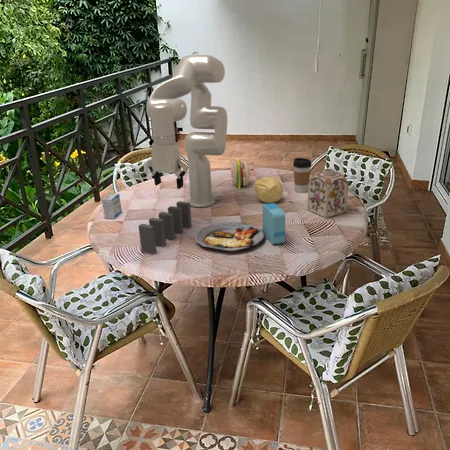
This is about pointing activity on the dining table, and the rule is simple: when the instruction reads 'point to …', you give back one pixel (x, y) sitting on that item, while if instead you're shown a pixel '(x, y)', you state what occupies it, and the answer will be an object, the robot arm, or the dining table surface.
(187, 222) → the domino
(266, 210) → the light blue block
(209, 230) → the food plate
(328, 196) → the decorative jar
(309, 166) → the coffee cup
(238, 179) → the hamburger
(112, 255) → the dining table surface
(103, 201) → the medicine box
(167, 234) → the domino
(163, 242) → the domino
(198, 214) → the dining table surface
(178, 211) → the domino
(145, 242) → the domino
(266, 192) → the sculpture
